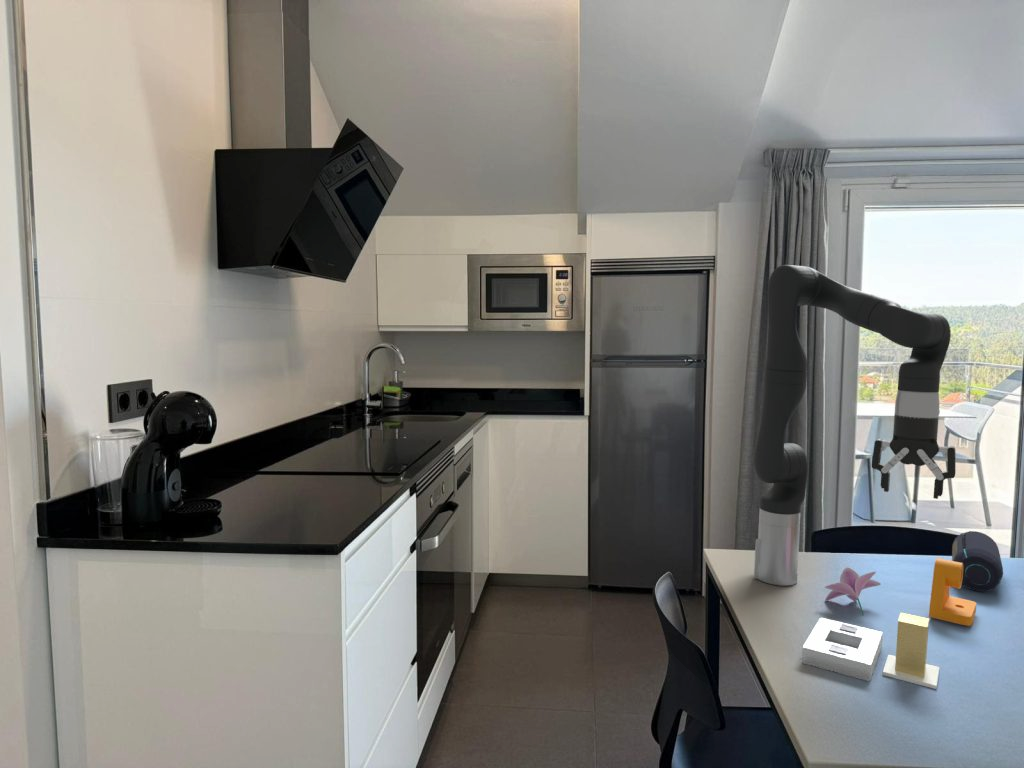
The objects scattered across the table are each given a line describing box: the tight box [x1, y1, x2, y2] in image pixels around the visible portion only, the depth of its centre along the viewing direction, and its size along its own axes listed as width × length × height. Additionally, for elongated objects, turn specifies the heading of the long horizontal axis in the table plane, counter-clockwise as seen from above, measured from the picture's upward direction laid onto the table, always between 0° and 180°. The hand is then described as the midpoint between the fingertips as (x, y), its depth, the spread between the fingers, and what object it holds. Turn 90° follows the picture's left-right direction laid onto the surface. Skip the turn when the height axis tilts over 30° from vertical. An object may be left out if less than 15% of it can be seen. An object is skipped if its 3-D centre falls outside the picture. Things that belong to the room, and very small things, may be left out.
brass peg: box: [895, 612, 930, 678], centre depth 120 cm, size 4×4×9 cm
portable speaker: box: [951, 530, 1004, 592], centre depth 167 cm, size 25×10×10 cm, turn 147°
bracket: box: [928, 557, 977, 627], centre depth 144 cm, size 11×7×12 cm, turn 140°
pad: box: [882, 653, 940, 690], centre depth 120 cm, size 8×8×1 cm
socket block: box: [801, 617, 884, 683], centre depth 126 cm, size 11×16×3 cm
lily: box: [824, 567, 881, 616], centre depth 148 cm, size 12×12×10 cm
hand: (910, 494), depth 135 cm, fingers open, 8 cm apart
